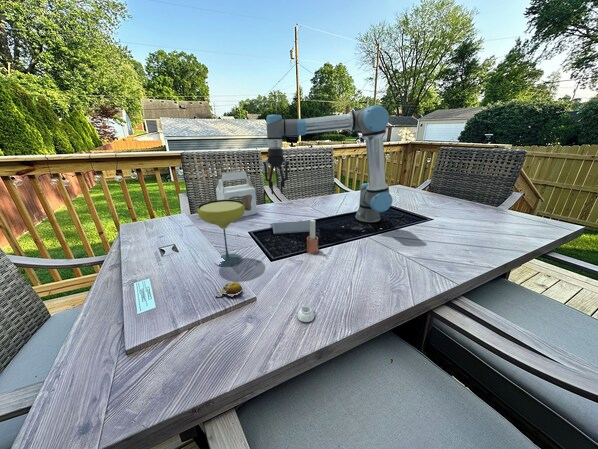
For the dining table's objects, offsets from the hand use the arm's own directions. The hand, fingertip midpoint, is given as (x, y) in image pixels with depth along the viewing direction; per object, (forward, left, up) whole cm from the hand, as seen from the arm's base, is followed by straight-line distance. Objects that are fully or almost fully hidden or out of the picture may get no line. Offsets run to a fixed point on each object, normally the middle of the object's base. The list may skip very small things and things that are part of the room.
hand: (277, 193), depth 133 cm
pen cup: (-13, +30, -21) cm, 39 cm away
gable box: (+25, -33, -21) cm, 47 cm away
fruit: (+22, +55, -22) cm, 63 cm away
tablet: (-8, -1, -21) cm, 23 cm away
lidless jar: (-2, +72, -21) cm, 75 cm away
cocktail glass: (+25, +32, -21) cm, 46 cm away
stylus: (-13, +30, -21) cm, 39 cm away
